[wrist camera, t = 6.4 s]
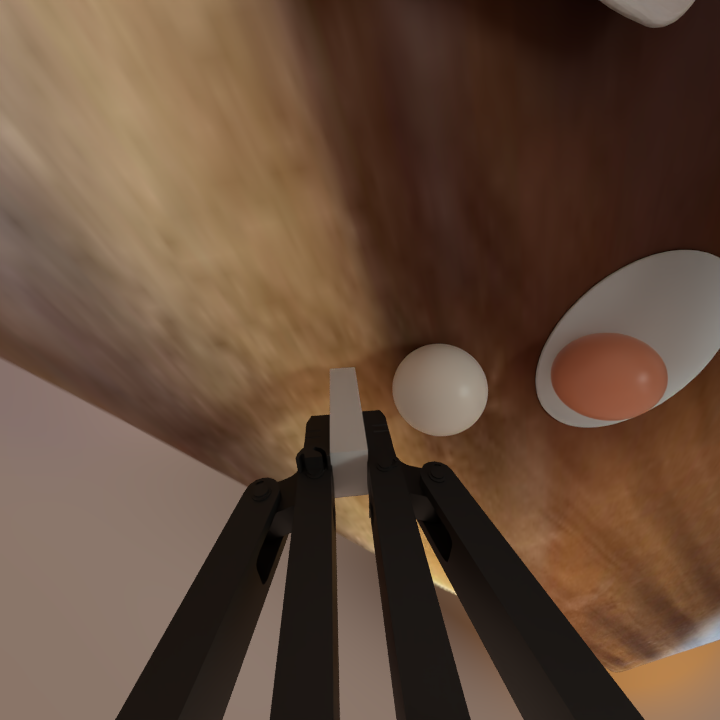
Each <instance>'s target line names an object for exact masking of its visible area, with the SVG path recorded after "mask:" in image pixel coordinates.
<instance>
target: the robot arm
mask: <svg viewBox="0 0 720 720" xmlns="http://www.w3.org/2000/svg"><path fill="white" fill-rule="evenodd" d="M296 463H297V468H298V471H297V473H295V474H294V475H293V476H291V477H289V478H287V479H285V480H282V481H279V482H276V481H275V480H274V479H271V478H261V479H259V480H256V481H254V482H253V483H251V484H250V485H249V486H248V487H247V489H246V490H245V492H244V493H243V495H242V497H241V499H240V500H239V502H238V504H237V506H236V508H235V509H234V511H233V513H232V514H231V516H230V518H229V520H228V522H227V523H226V525H225V527H224V529H223V530H222V532H221V534H220V536H219V537H218V539H217V541H216V543H215V545H214V547H213V548H212V550H211V552H210V553H209V555H208V557H207V559H206V560H205V562H204V564H203V566H202V567H201V569H200V571H199V573H198V575H197V576H196V578H195V580H194V582H193V583H192V585H191V587H190V589H189V590H188V592H187V594H186V596H185V598H184V599H183V601H182V603H181V605H180V607H179V608H178V610H177V612H176V613H175V615H174V617H173V619H172V621H171V622H170V624H169V626H168V628H167V629H166V631H165V633H164V635H163V637H162V638H161V640H160V642H159V643H158V645H157V647H156V649H155V650H154V652H153V654H152V656H151V658H150V660H149V661H148V663H147V665H146V666H145V668H144V670H143V672H142V674H141V675H140V677H139V679H138V681H137V682H136V684H135V686H134V688H133V689H132V691H131V693H130V695H129V697H128V698H127V700H126V702H125V704H124V705H123V707H122V709H121V711H120V712H119V714H118V716H117V718H116V719H115V720H222V719H223V716H224V713H225V710H226V707H227V705H228V702H229V700H230V697H231V694H232V691H233V688H234V686H235V683H236V680H237V677H238V674H239V672H240V669H241V666H242V663H243V660H244V658H245V655H246V652H247V649H248V646H249V644H250V641H251V638H252V635H253V633H254V630H255V627H256V624H257V621H258V618H259V616H260V613H261V610H262V607H263V604H264V602H265V599H266V596H267V593H268V591H269V587H270V585H271V582H272V579H273V577H274V574H275V571H276V568H277V565H278V563H279V560H280V557H281V554H282V551H283V549H284V546H285V543H286V540H287V537H288V534H289V533H291V541H290V550H289V559H288V568H287V576H286V585H285V594H284V602H283V610H282V620H281V628H280V636H279V646H278V654H277V662H276V671H275V680H274V688H273V697H272V705H271V714H270V720H340V707H339V705H340V704H339V657H338V612H337V610H338V609H337V565H336V564H337V563H336V513H335V498H338V497H348V496H358V495H368V494H369V518H371V524H372V532H373V540H374V548H375V555H376V563H377V571H378V579H379V587H380V594H381V602H382V610H383V617H384V626H385V633H386V641H387V649H388V656H389V664H390V671H391V680H392V688H393V696H394V703H395V711H396V719H397V720H471V719H470V716H469V712H468V708H467V705H466V701H465V698H464V694H463V690H462V687H461V683H460V679H459V675H458V672H457V669H456V664H455V661H454V657H453V653H452V650H451V646H450V643H449V639H448V635H447V631H446V628H445V624H444V621H443V617H442V613H441V610H440V606H439V602H438V599H437V595H436V591H435V588H434V584H433V580H432V577H431V573H430V569H429V566H428V562H427V558H426V555H425V551H424V547H423V544H422V540H421V536H420V533H419V529H418V525H417V522H416V519H417V521H418V523H419V525H420V527H421V528H422V530H423V532H424V534H425V536H426V538H427V540H428V542H429V543H430V545H431V547H432V549H433V551H434V553H435V555H436V556H437V558H438V560H439V562H440V564H441V566H442V568H443V570H444V571H445V573H446V575H447V577H448V579H449V581H450V583H451V584H452V586H453V588H454V590H455V592H456V594H457V596H458V597H459V599H460V601H461V603H462V605H463V607H464V609H465V611H466V612H467V614H468V616H469V618H470V620H471V622H472V624H473V625H474V627H475V629H476V631H477V633H478V635H479V637H480V639H481V640H482V642H483V644H484V646H485V648H486V650H487V652H488V653H489V655H490V657H491V659H492V661H493V663H494V665H495V667H496V668H497V670H498V672H499V674H500V676H501V678H502V680H503V681H504V683H505V685H506V687H507V689H508V691H509V693H510V695H511V696H512V698H513V700H514V702H515V704H516V706H517V708H518V710H519V711H520V713H521V715H522V717H523V719H524V720H644V718H643V717H642V716H641V714H640V713H639V712H638V711H637V709H636V708H635V707H634V706H633V704H632V703H631V701H630V700H629V699H628V698H627V696H626V695H625V694H624V692H623V691H622V690H621V688H620V687H619V686H618V685H617V683H616V682H615V681H614V679H613V678H612V677H611V676H610V674H609V673H608V672H607V671H606V669H605V668H604V666H603V665H602V664H601V663H600V661H599V660H598V659H597V657H596V656H595V655H594V654H593V652H592V651H591V650H590V648H589V647H588V646H587V644H586V643H585V642H584V641H583V639H582V638H581V637H580V635H579V634H578V633H577V632H576V630H575V629H574V628H573V626H572V625H571V624H570V622H569V621H568V620H567V619H566V617H565V616H564V615H563V613H562V612H561V611H560V610H559V608H558V607H557V606H556V604H555V603H554V602H553V600H552V599H551V598H550V597H549V595H548V594H547V593H546V591H545V590H544V589H543V588H542V586H541V585H540V584H539V582H538V581H537V580H536V578H535V577H534V576H533V575H532V573H531V572H530V571H529V569H528V568H527V567H526V566H525V564H524V563H523V562H522V560H521V559H520V558H519V556H518V555H517V554H516V553H515V551H514V550H513V549H512V547H511V546H510V545H509V544H508V542H507V541H506V540H505V538H504V537H503V536H502V534H501V533H500V532H499V531H498V529H497V528H496V527H495V525H494V524H493V523H492V522H491V520H490V519H489V518H488V516H487V515H486V514H485V512H484V511H483V510H482V509H481V507H480V506H479V505H478V503H477V502H476V501H475V500H474V498H473V497H472V496H471V494H470V493H469V492H468V490H467V489H466V488H465V487H464V485H463V484H462V483H461V481H460V480H459V479H458V478H457V476H456V475H455V474H454V472H453V471H452V470H451V469H450V468H449V467H448V466H447V465H445V464H443V463H440V462H435V461H434V462H428V463H426V464H424V465H423V467H422V468H418V467H413V466H409V465H406V464H404V463H402V462H401V461H400V460H399V459H398V458H397V457H396V454H395V452H394V448H393V444H392V440H391V437H390V433H389V429H388V425H387V421H386V418H385V416H384V415H383V413H382V412H381V411H380V410H376V411H363V412H362V409H361V403H360V397H359V390H358V384H357V377H356V371H355V367H350V368H335V369H330V415H319V416H311V418H310V419H309V420H308V422H307V424H306V433H305V443H304V448H303V449H301V451H300V452H299V453H298V454H297V457H296Z"/></svg>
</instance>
